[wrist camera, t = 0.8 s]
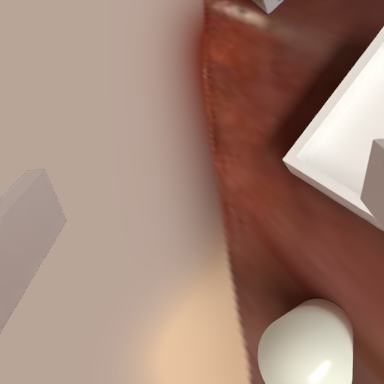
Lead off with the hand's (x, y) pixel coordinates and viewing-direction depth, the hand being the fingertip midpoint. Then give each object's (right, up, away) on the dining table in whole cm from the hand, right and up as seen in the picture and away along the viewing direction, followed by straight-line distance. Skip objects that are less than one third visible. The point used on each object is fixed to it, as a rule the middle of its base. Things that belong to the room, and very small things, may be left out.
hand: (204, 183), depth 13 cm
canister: (+13, -15, +20) cm, 28 cm away
